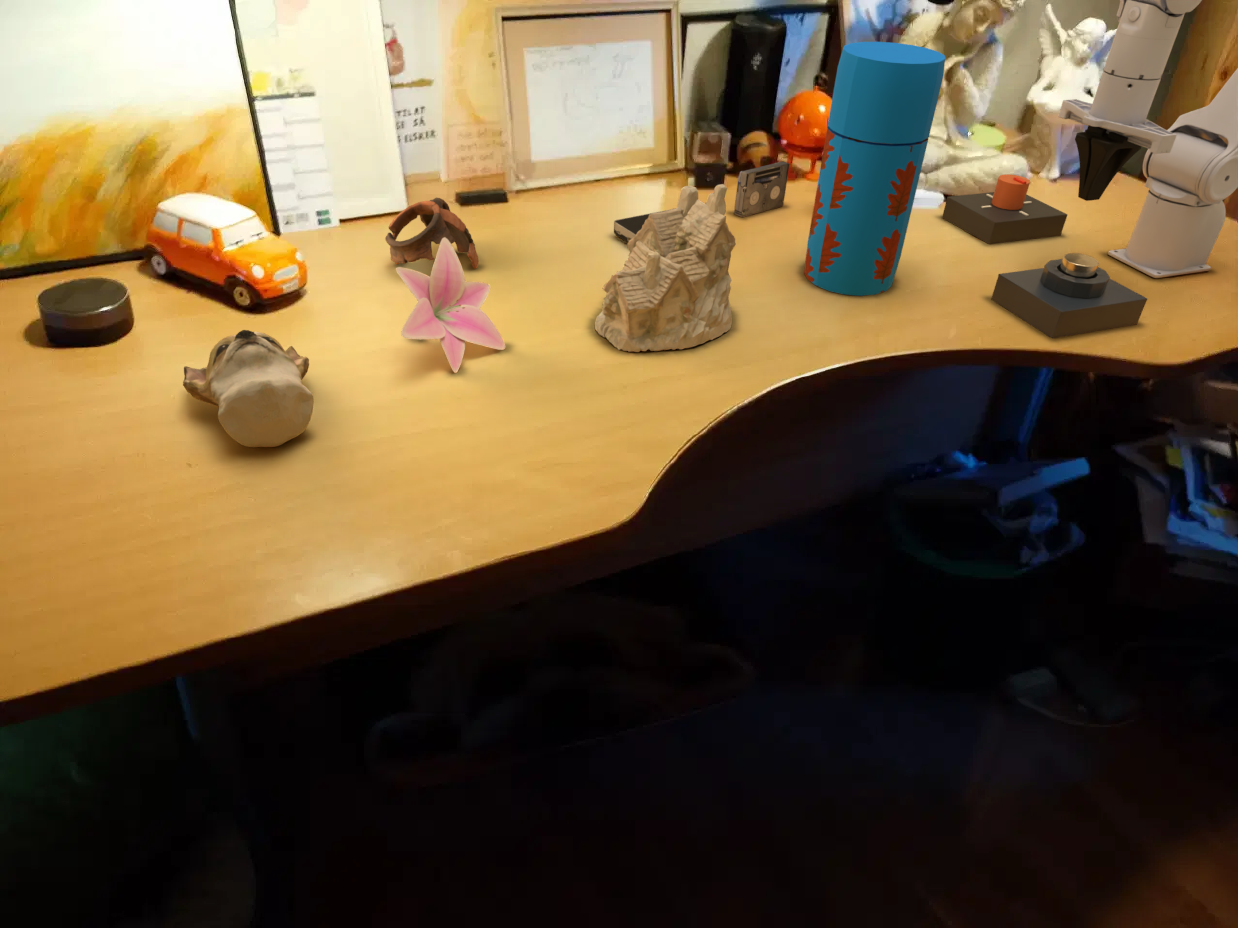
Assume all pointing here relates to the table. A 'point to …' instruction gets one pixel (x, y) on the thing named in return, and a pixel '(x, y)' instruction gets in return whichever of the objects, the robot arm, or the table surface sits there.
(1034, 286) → the square base push button
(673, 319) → the ceramic cottage
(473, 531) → the table surface
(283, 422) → the ceramic sculpture
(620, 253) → the table surface
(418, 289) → the lily
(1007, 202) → the dial
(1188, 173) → the robot arm
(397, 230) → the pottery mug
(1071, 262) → the metal button cap
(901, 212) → the thermos
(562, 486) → the table surface
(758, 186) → the mini dv tape
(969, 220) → the dark grey dial base
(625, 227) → the external hard drive
